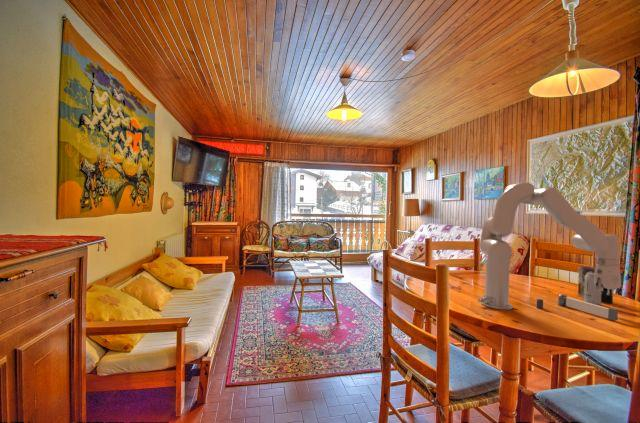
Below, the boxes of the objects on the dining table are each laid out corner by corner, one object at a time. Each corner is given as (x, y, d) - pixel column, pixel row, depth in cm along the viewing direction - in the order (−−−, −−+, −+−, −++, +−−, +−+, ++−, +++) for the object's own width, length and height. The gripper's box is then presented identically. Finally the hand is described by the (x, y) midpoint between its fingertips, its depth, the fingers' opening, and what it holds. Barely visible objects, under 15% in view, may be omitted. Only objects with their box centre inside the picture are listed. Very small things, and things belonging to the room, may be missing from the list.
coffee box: (606, 301, 144) (607, 269, 144) (593, 301, 144) (594, 269, 144) (589, 295, 153) (590, 266, 153) (577, 295, 153) (578, 266, 153)
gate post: (563, 306, 134) (563, 296, 134) (556, 304, 137) (557, 294, 137) (568, 306, 135) (568, 295, 135) (561, 304, 138) (561, 294, 138)
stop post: (540, 309, 130) (540, 300, 130) (535, 307, 133) (535, 299, 133) (544, 308, 131) (544, 300, 131) (539, 307, 133) (539, 298, 133)
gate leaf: (614, 320, 117) (614, 309, 117) (565, 306, 134) (565, 296, 134) (617, 320, 117) (617, 309, 117) (568, 305, 135) (568, 296, 135)
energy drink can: (581, 301, 143) (582, 271, 143) (596, 302, 142) (597, 272, 141) (588, 304, 138) (589, 274, 138) (603, 306, 136) (604, 275, 136)
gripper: (606, 264, 120) (606, 307, 120) (628, 262, 124) (628, 304, 124) (585, 261, 127) (585, 302, 127) (607, 259, 131) (607, 299, 131)
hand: (606, 303), depth 126 cm, fingers closed
